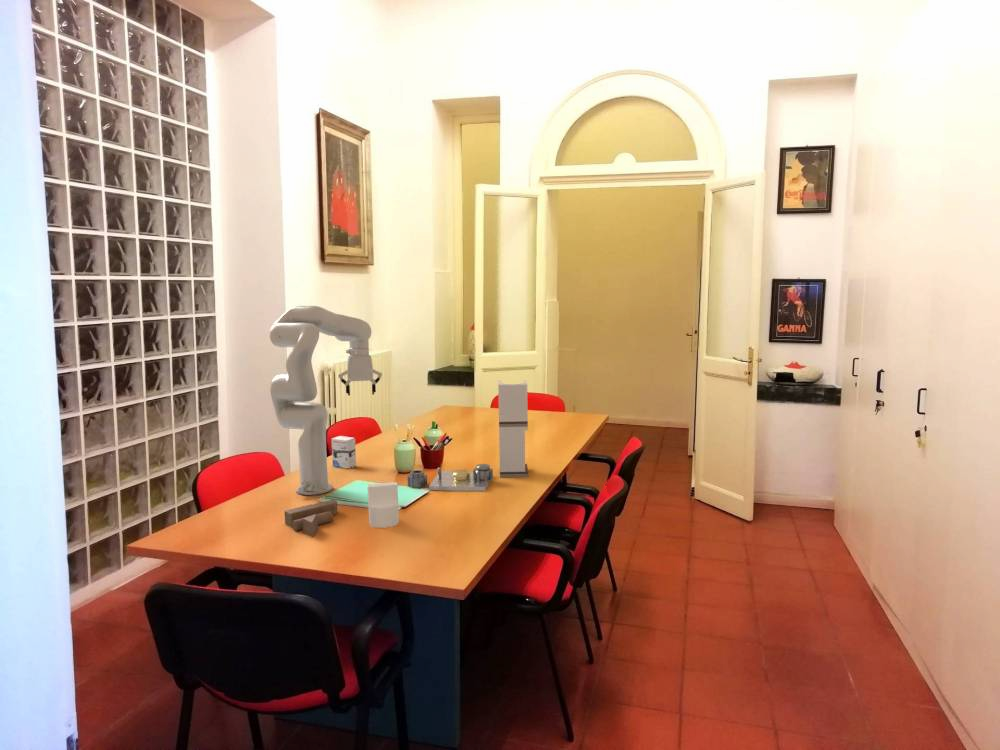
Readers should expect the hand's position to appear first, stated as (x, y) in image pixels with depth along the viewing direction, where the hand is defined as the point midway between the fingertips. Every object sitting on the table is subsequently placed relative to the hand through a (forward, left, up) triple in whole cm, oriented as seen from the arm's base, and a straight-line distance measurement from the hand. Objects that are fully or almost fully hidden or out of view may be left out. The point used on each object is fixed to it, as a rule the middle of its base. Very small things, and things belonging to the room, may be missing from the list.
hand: (361, 394), depth 281 cm
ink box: (-5, +6, -29) cm, 30 cm away
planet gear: (-30, -29, -28) cm, 51 cm away
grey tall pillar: (-12, -63, -29) cm, 70 cm away
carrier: (-26, -45, -28) cm, 59 cm away
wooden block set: (-72, -9, -29) cm, 78 cm away
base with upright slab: (-70, -28, -29) cm, 81 cm away
